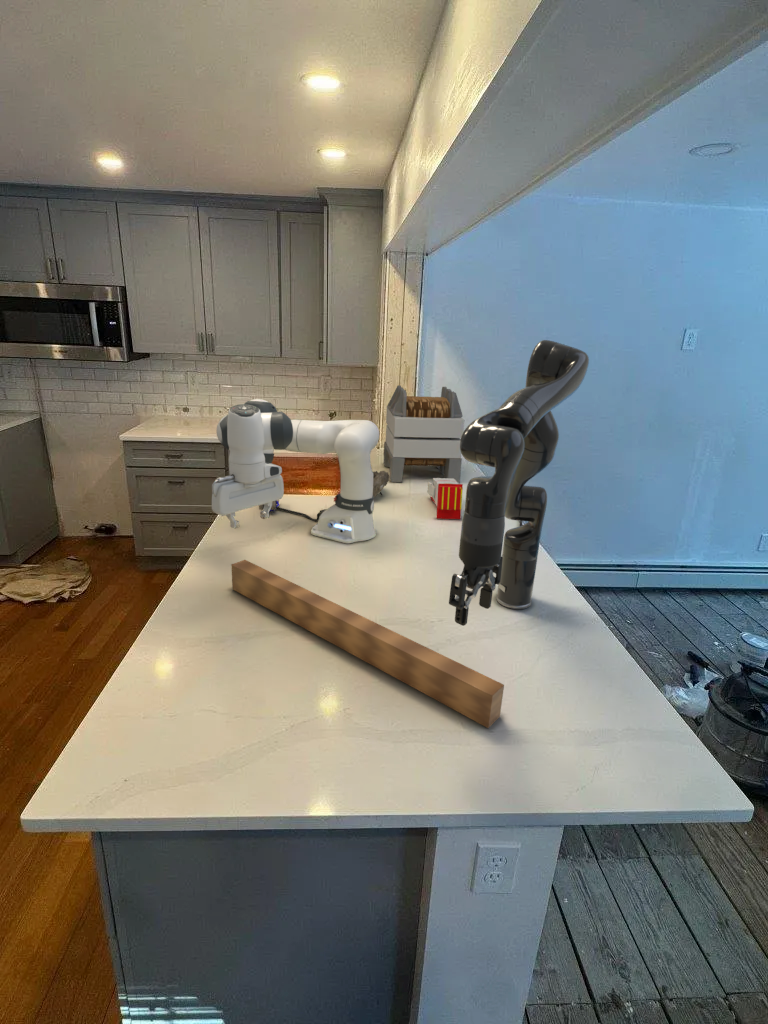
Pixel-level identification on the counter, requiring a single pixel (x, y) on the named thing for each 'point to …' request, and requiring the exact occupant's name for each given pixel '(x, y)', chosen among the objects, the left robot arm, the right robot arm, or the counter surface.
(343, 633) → the post
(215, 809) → the counter surface
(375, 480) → the fossil
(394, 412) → the transformer
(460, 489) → the toy
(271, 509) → the figurine character
